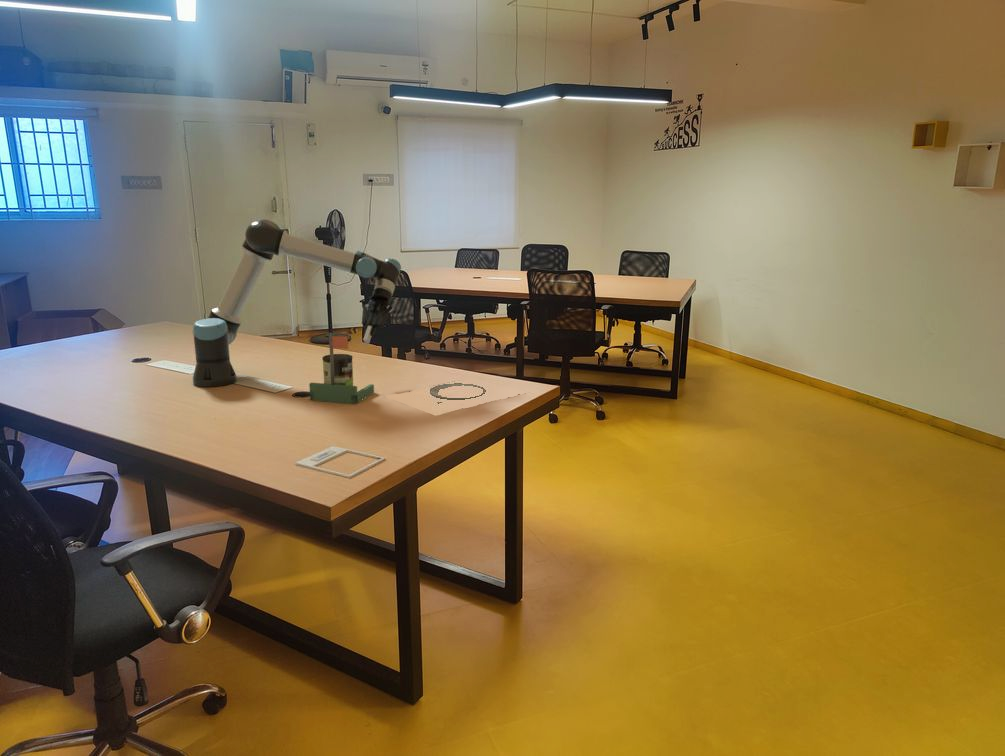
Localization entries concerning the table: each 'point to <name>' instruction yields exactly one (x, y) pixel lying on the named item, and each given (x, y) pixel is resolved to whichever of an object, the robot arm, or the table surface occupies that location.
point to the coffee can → (339, 369)
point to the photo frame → (332, 453)
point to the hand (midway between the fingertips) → (366, 341)
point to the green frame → (332, 390)
